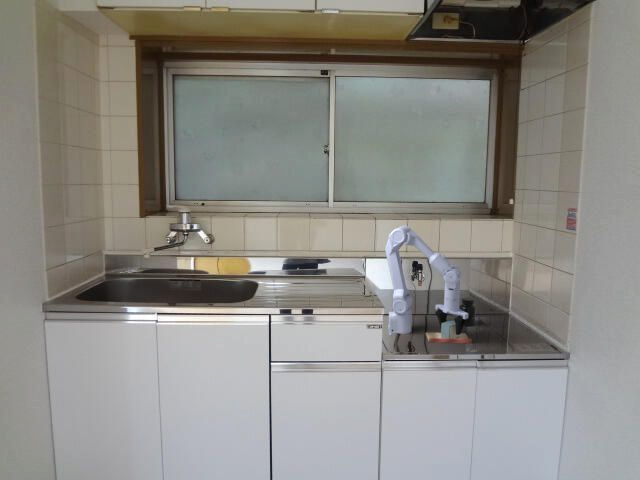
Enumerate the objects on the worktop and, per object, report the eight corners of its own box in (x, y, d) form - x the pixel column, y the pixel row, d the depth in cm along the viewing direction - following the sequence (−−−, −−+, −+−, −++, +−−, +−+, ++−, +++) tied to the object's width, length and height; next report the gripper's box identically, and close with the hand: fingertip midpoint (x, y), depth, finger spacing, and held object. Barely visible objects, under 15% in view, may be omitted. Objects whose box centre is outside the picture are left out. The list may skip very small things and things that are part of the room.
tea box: (441, 337, 177) (441, 323, 176) (451, 334, 180) (451, 320, 179) (449, 341, 174) (449, 326, 172) (459, 337, 177) (460, 323, 176)
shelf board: (429, 344, 173) (429, 338, 172) (425, 334, 183) (425, 329, 182) (471, 345, 172) (471, 339, 171) (465, 335, 181) (465, 329, 181)
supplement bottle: (476, 329, 188) (477, 301, 186) (459, 328, 189) (460, 301, 187) (473, 323, 195) (475, 297, 192) (457, 322, 196) (458, 296, 194)
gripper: (430, 295, 178) (429, 328, 180) (460, 304, 166) (458, 339, 168) (442, 292, 182) (441, 324, 184) (472, 301, 170) (470, 335, 172)
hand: (450, 331), depth 176 cm, fingers open, 7 cm apart
